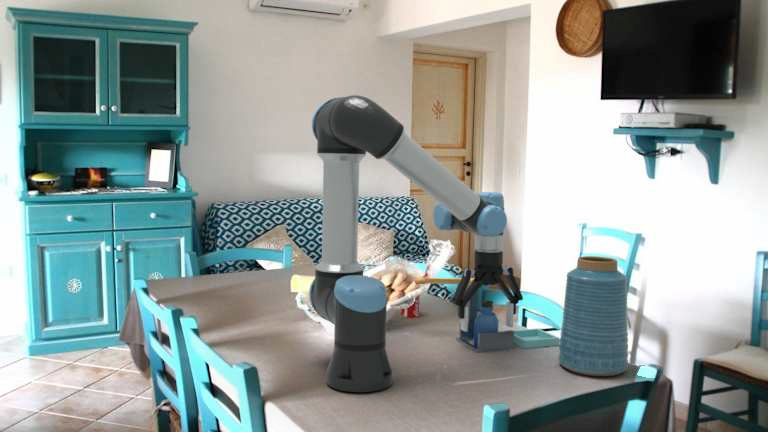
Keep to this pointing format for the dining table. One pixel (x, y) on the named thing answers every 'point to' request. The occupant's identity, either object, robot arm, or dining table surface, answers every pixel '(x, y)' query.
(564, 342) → the vase
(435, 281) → the bar
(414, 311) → the beverage can
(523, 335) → the tray
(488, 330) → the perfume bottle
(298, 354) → the dining table surface
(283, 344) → the dining table surface
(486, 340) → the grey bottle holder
